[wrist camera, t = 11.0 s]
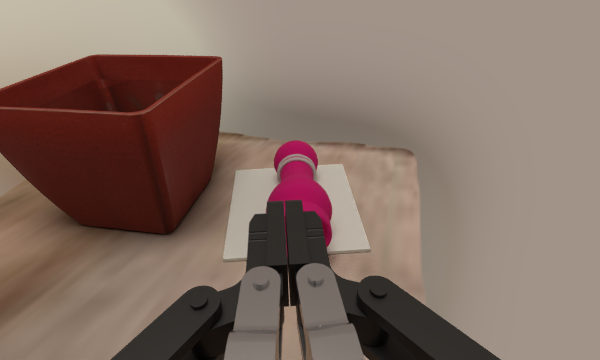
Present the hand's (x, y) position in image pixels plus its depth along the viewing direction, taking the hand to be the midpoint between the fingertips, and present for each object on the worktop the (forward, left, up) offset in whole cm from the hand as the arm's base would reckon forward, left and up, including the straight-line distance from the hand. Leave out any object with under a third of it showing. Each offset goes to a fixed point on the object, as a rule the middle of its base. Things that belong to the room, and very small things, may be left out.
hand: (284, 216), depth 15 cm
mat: (-7, +23, -18) cm, 31 cm away
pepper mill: (-3, +13, -14) cm, 20 cm away
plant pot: (-27, +20, -19) cm, 38 cm away
